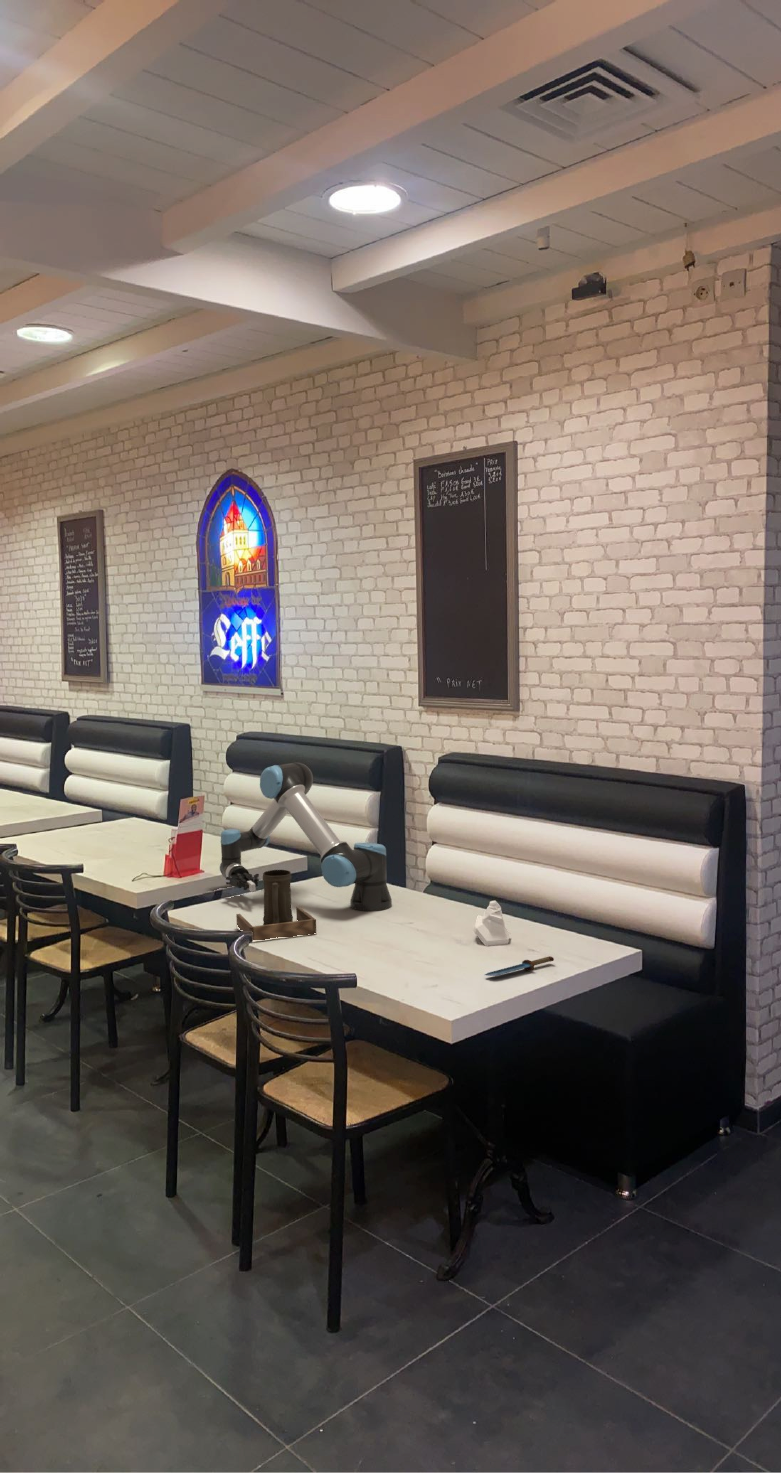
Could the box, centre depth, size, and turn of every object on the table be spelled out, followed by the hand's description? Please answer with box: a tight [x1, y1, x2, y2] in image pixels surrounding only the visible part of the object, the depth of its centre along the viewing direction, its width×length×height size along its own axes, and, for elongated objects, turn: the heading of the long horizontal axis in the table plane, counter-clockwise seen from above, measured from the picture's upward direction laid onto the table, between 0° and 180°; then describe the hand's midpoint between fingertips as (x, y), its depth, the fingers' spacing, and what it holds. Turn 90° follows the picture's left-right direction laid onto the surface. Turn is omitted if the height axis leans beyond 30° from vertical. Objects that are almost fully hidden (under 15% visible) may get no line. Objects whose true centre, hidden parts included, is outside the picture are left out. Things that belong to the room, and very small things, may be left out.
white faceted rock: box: [473, 900, 511, 947], centre depth 333 cm, size 12×15×14 cm
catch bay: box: [235, 906, 317, 940], centre depth 347 cm, size 22×18×5 cm
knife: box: [484, 956, 555, 977], centre depth 301 cm, size 24×3×5 cm
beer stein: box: [262, 869, 294, 925], centre depth 349 cm, size 15×10×20 cm
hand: (253, 888), depth 373 cm, fingers closed
